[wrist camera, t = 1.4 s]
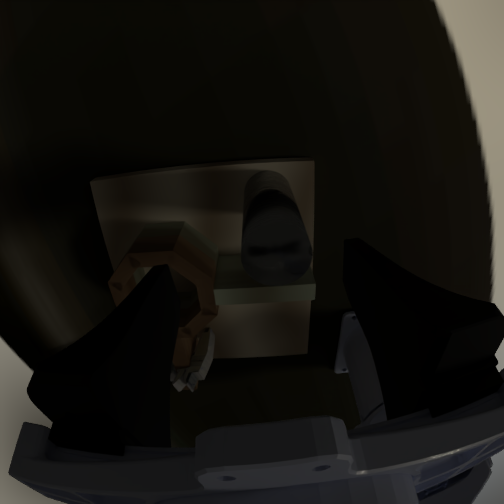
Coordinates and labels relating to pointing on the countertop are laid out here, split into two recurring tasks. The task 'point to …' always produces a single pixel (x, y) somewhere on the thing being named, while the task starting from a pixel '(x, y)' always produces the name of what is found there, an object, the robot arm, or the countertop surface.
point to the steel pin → (273, 231)
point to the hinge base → (224, 227)
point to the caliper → (195, 363)
